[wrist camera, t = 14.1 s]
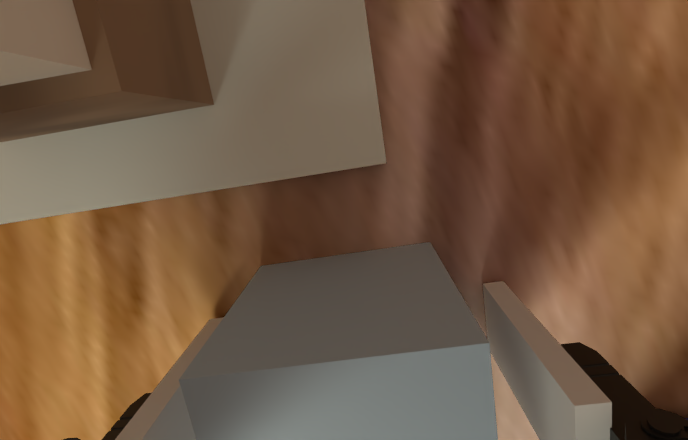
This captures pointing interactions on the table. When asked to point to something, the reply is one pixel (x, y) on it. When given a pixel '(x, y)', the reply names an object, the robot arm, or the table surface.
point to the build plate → (221, 117)
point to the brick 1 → (39, 40)
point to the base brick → (115, 71)
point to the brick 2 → (346, 355)
